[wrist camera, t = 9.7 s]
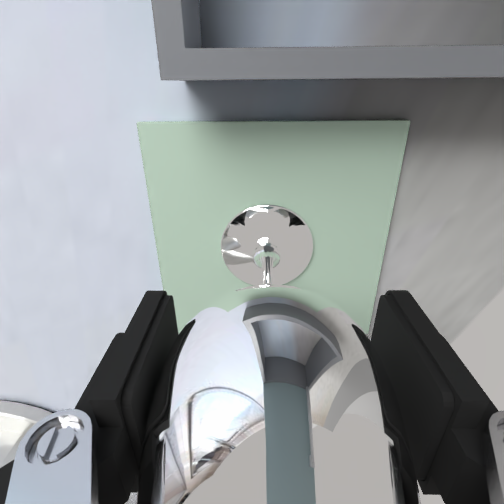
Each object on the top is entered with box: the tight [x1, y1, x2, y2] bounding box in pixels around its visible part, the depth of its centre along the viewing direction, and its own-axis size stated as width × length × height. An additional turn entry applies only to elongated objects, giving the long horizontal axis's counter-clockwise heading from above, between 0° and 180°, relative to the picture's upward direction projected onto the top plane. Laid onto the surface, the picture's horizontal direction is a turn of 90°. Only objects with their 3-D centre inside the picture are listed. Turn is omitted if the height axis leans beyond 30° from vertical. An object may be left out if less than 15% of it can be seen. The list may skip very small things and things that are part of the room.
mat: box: [137, 120, 410, 334], centre depth 16 cm, size 11×11×1 cm
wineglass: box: [136, 204, 421, 504], centre depth 10 cm, size 6×6×12 cm
